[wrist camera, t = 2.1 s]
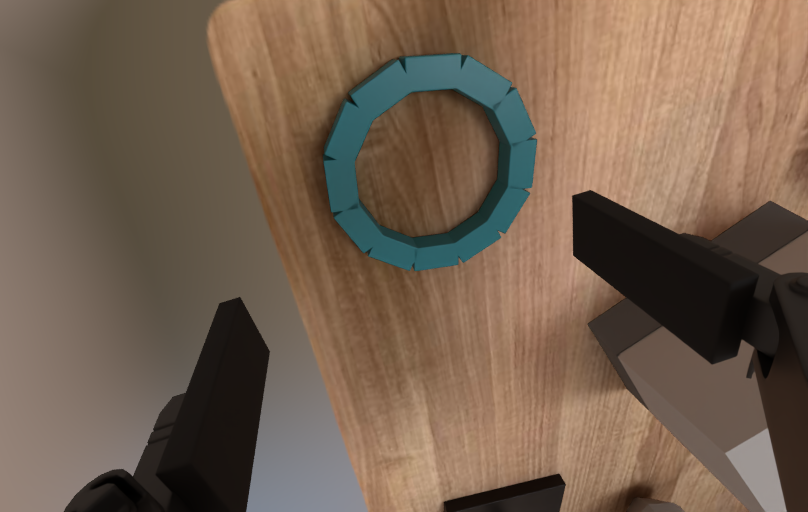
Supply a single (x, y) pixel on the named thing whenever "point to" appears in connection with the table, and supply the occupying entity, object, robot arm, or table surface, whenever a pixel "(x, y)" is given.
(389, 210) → the table surface
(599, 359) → the table surface
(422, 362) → the table surface
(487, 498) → the post
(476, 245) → the ring
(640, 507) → the bottle
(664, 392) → the alarm clock
